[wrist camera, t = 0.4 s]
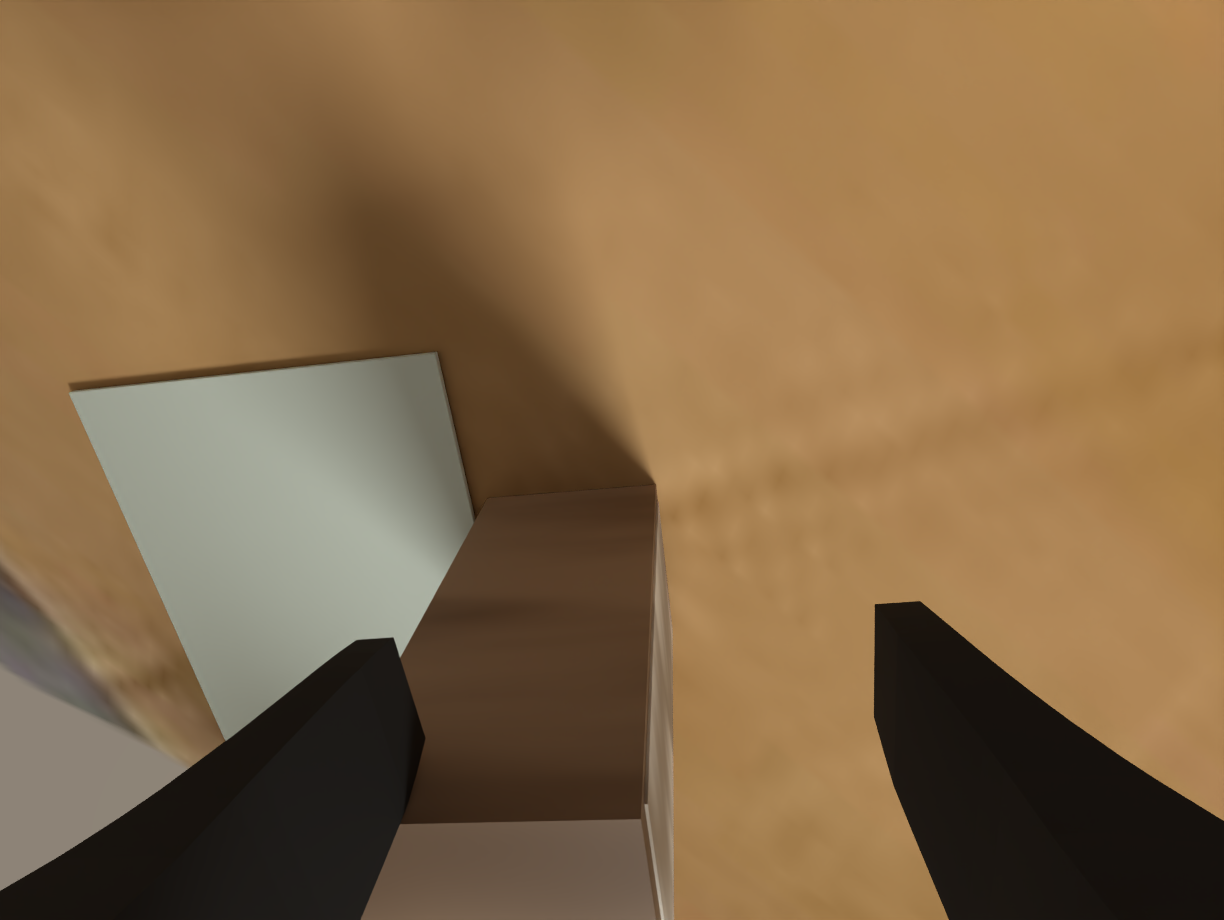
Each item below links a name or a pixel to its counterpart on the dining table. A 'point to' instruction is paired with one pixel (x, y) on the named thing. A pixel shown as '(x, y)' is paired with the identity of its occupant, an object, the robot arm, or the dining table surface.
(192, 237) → the dining table surface
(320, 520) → the pad
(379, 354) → the dining table surface
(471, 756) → the walnut block
